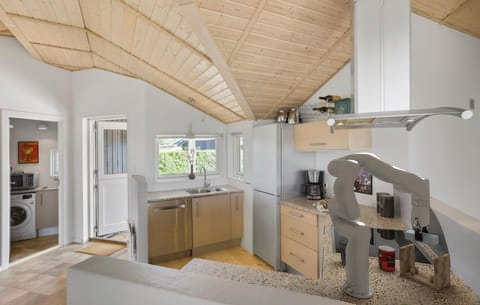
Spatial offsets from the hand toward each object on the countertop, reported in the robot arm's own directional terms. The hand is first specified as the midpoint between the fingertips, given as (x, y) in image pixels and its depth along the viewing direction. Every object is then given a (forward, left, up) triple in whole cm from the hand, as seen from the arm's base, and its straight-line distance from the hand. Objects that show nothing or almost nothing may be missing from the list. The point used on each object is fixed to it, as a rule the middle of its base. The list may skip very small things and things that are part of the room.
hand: (421, 239), depth 120 cm
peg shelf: (+2, 0, -20) cm, 20 cm away
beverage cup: (-16, +31, -20) cm, 41 cm away
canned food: (-2, +16, -20) cm, 26 cm away
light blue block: (0, 0, -1) cm, 1 cm away
